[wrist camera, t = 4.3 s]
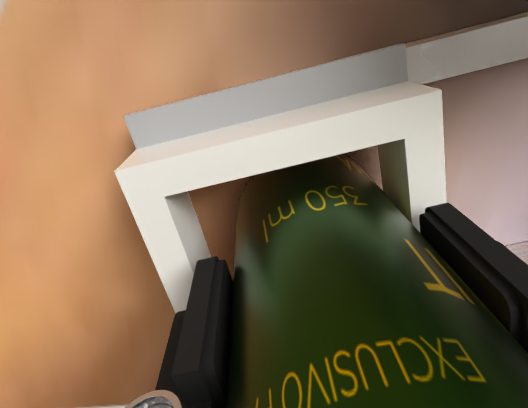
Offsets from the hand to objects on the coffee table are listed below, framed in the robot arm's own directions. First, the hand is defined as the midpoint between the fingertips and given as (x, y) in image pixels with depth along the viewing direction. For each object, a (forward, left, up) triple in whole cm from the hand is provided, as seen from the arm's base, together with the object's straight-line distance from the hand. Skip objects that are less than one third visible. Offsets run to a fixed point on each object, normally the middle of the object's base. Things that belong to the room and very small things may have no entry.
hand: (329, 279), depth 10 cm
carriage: (+1, 0, -3) cm, 3 cm away
